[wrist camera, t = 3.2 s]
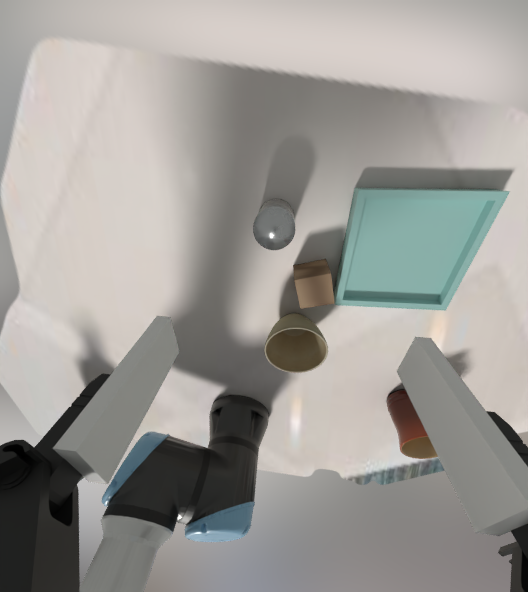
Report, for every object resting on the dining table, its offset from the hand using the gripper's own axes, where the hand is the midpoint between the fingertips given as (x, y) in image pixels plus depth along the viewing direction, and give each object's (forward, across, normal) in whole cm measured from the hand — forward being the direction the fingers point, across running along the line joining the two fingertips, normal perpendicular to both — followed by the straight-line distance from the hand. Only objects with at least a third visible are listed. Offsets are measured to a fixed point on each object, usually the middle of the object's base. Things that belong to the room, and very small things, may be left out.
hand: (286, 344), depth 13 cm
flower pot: (+23, +3, -18) cm, 30 cm away
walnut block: (+24, +4, -8) cm, 25 cm away
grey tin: (+24, -2, +1) cm, 24 cm away
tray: (+24, +17, -3) cm, 29 cm away
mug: (+23, +29, -35) cm, 51 cm away
